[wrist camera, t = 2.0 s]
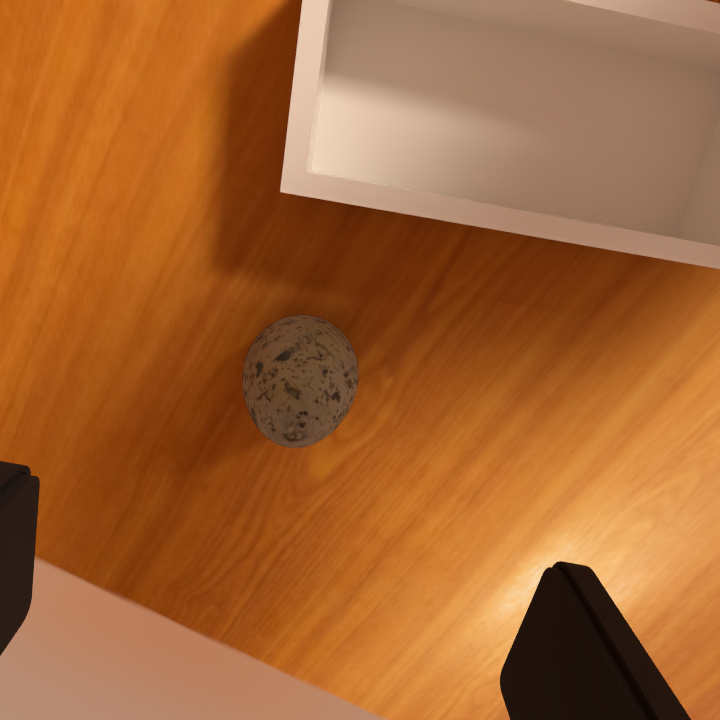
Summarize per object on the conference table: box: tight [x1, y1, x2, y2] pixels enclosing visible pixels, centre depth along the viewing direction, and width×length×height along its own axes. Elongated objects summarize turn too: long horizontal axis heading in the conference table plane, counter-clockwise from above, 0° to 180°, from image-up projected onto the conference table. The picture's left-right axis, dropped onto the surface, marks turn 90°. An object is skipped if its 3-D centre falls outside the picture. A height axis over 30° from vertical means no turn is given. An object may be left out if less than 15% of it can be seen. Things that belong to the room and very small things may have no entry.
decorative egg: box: [242, 315, 358, 448], centre depth 27 cm, size 6×6×10 cm
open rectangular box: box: [280, 0, 720, 269], centre depth 25 cm, size 22×10×6 cm, turn 80°
